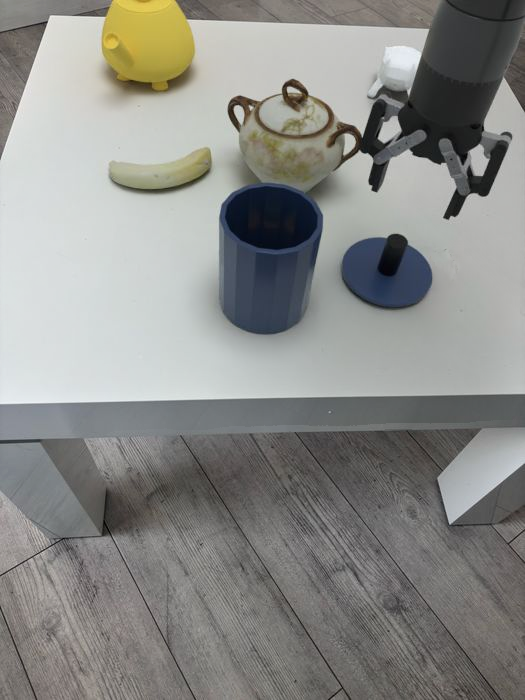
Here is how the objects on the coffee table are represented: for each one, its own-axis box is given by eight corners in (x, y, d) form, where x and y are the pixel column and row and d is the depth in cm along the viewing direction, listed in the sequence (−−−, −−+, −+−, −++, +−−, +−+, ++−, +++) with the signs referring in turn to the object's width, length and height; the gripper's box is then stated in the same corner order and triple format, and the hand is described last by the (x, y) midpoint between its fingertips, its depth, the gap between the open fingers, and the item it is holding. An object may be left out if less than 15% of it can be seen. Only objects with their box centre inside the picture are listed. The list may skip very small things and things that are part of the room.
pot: (320, 288, 69) (339, 205, 58) (282, 348, 64) (295, 268, 53) (246, 256, 72) (250, 170, 61) (203, 311, 66) (200, 227, 55)
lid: (440, 264, 73) (457, 229, 68) (413, 324, 67) (429, 290, 62) (360, 232, 76) (370, 196, 71) (326, 287, 70) (334, 252, 65)
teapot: (160, 119, 88) (151, 30, 77) (75, 95, 90) (54, 5, 79) (209, 62, 99) (208, -23, 88) (133, 42, 101) (122, -44, 90)
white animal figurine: (371, 90, 103) (363, 101, 90) (385, 40, 98) (378, 43, 86) (416, 101, 102) (414, 113, 89) (431, 50, 97) (431, 55, 85)
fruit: (217, 189, 79) (217, 170, 76) (111, 198, 77) (107, 178, 74) (210, 159, 83) (210, 140, 80) (109, 166, 81) (105, 146, 78)
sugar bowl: (206, 187, 79) (203, 88, 67) (246, 133, 87) (250, 36, 75) (333, 228, 76) (355, 132, 64) (363, 168, 84) (387, 73, 72)
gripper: (375, 50, 48) (341, 198, 61) (537, 101, 45) (463, 245, 58) (403, 17, 52) (365, 162, 65) (553, 62, 49) (481, 205, 62)
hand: (411, 201), depth 61 cm, fingers open, 8 cm apart
